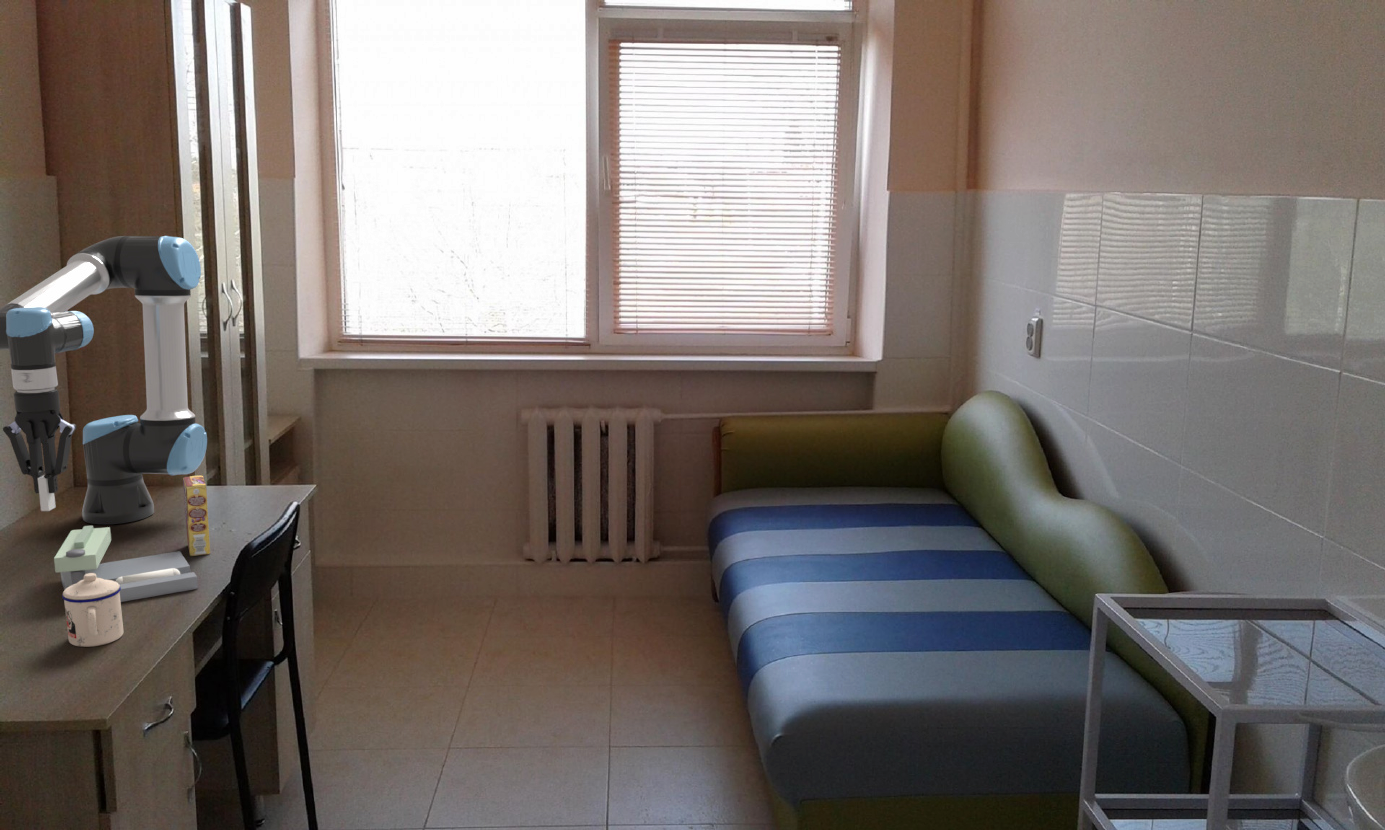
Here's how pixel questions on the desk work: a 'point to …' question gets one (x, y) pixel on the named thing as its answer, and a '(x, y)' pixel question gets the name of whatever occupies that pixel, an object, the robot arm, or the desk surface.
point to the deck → (136, 567)
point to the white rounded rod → (147, 576)
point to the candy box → (196, 515)
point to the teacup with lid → (93, 611)
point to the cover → (83, 549)
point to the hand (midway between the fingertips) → (48, 508)
